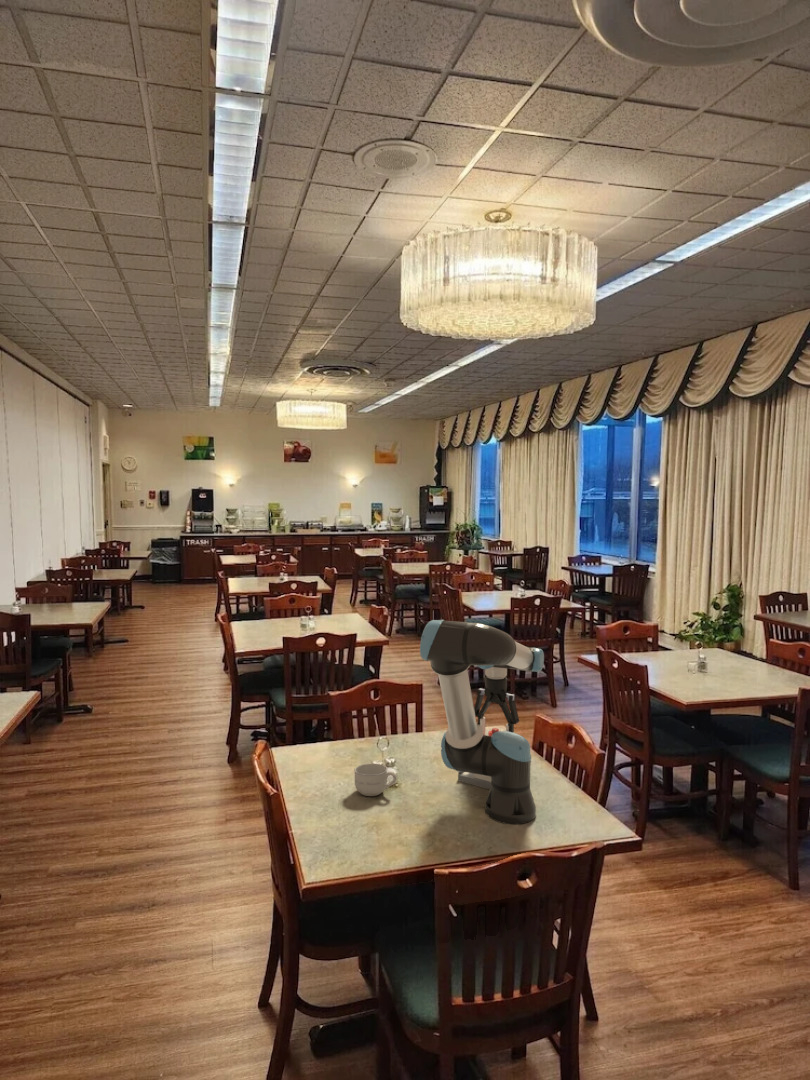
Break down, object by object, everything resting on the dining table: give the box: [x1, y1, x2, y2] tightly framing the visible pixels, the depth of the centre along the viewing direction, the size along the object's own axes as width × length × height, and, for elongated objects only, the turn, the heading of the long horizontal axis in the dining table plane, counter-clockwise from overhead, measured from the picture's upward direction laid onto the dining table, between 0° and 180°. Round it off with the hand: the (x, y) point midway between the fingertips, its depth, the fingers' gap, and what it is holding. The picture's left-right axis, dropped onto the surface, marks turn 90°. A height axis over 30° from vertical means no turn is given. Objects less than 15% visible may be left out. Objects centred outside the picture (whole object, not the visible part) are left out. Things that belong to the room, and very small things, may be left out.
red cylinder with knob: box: [487, 727, 500, 736], centre depth 229 cm, size 5×5×8 cm
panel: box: [457, 771, 491, 790], centre depth 227 cm, size 15×26×3 cm, turn 145°
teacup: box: [353, 762, 398, 797], centre depth 211 cm, size 14×11×8 cm
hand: (495, 739), depth 229 cm, fingers open, 9 cm apart
